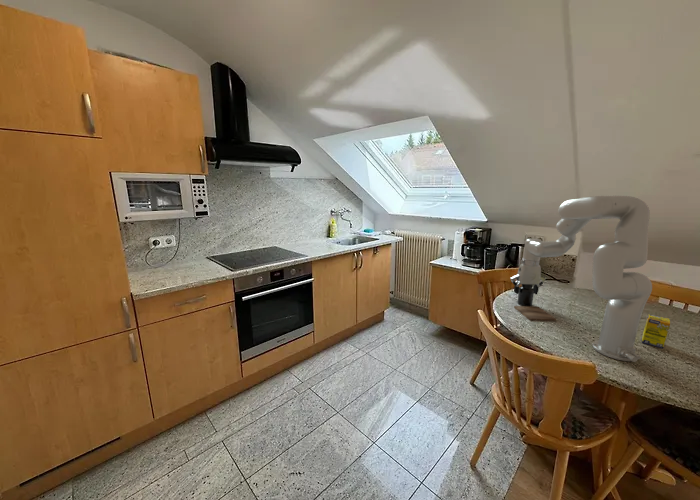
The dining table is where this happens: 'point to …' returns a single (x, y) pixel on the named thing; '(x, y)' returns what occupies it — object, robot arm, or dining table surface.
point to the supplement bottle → (525, 295)
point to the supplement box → (655, 331)
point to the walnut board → (534, 313)
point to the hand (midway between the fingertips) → (525, 293)
